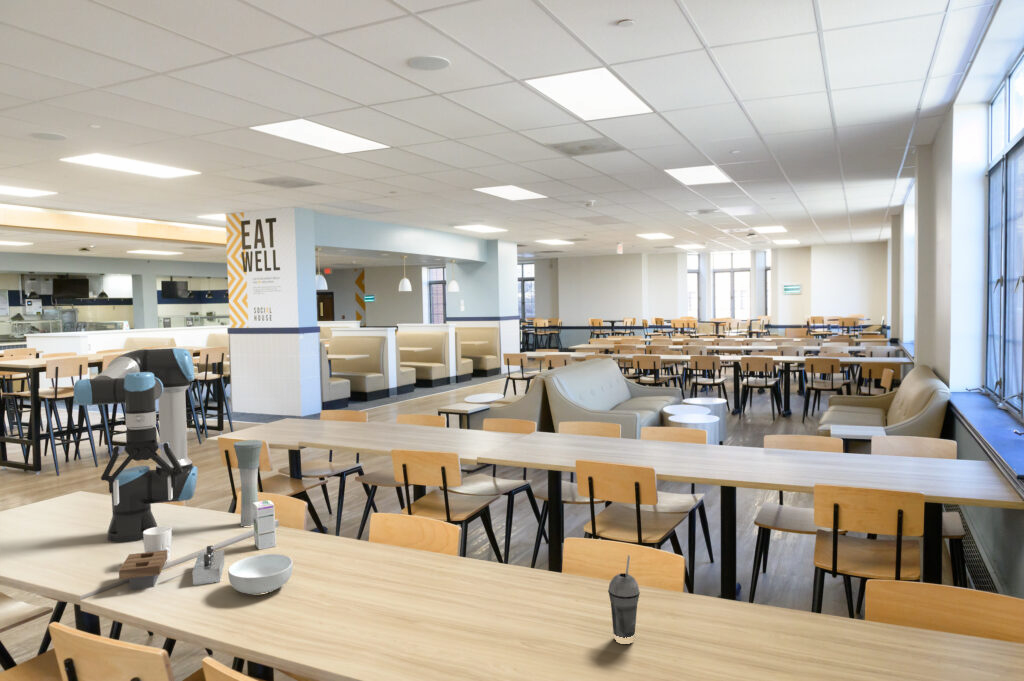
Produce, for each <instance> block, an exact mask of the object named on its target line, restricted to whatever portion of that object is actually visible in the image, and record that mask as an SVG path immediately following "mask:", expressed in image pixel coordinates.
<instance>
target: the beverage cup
mask: <svg viewBox="0 0 1024 681" xmlns="http://www.w3.org/2000/svg"><path fill="white" fill-rule="evenodd" d="M630 558H631V556H630V555H629V554H628V555H627V560H626V567H625V568H626V569H625V573H624V572H623V573H622V572H621V573H618V574H616V575H615V576H613V577H612V578H611V580H610V582H609V586H608V589H607V590H608V596H609V600H610V608H611V618H612V631H613V635H614V634H615V635H616V636H619V637H623V638H625V637H626V638H627V637H631V636H633V635H634V634H635V635H636V624H637V611H638V602H639V598H640V594H641V593H640V588H639V584H638V582H637V580H636V578H634V577H633V575H631V574H629V568H630ZM635 635H634V636H635Z"/></svg>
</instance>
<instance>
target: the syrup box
mask: <svg viewBox="0 0 1024 681" xmlns="http://www.w3.org/2000/svg"><path fill="white" fill-rule="evenodd" d="M275 516H276V515H275V504H274V503H273V502H272V501H271V500H270V499H266V500H260V501H259V500H258V502H255V503H253V517H254V527H253V532H254V533H253V534H254V535H253V538H254V546H255V547H256V548H257V550H259V551H260V550H266V549H270V548H275V547H277V537H276V536H277V535H276V534H277V532H276V519H275V518H276V517H275Z"/></svg>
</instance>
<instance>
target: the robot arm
mask: <svg viewBox="0 0 1024 681" xmlns="http://www.w3.org/2000/svg"><path fill="white" fill-rule="evenodd" d="M192 381H195V367H194V362H193V358H192V354H191V352H190V351H189V350H188V349H186V348H179V347H178V348H175V347H172V348H155V349H154V348H151V349H147V348H142V349H136V350H133V351H132V350H131V351H129V352H126V353H123V354H120V355H118V356H116V357H115V358H114V359H112V360H111V361H110V362H109V363H108V366H107V368H106V369H105V368H104V370H102V371H101V372H100V373H99V374H97V375H96V376H94V377H93V378H86V379H85V378H84V379H83V378H82V379H78V380H76V381H75V383H74V385H73V399H74V402H75V403H76V404H77V405H79V406H90V407H91V406H97V405H99V406H100V405H112V404H114V405H115V404H116V405H117V404H124V406H125V407H124V408H125V414H124V415H125V427H126V428H127V429H126V430H125V437H126V438H125V439H126V445H119V444H117V445H115V446H113V450H112V456H111V457H110V459H109V462H108V464H107V465H106V467H105V469H104V471H103V472H102V475H101V477H100V480H101V481H105V482H106V481H107V482H108V490H109V491H108V492H109V494H111V506H112V507H111V508H112V515H111V519H110V523H109V525H108V529H107V536H106V537H107V540H108V541H109V542H113V543H115V542H116V543H125V542H134V541H140V540H144V539H143V532H144V531H145V530H147V529H150V528H153V527H158V524H157V522H156V521H157V520H156V519H155V517H154V515H153V512H152V506H151V505H152V504H163V503H172V502H174V503H175V502H178V503H179V502H183V501H190V500H192V499H193V497H194V495H195V492H196V488H197V483H198V481H197V480H198V474H199V472H198V467H197V466H195V465H194V464H193V461H192V460H191V459H190V458H189V457H188V437H187V436H188V435H187V434H188V431H187V406H186V405H187V404H186V402H187V401H186V391H187V390H188V389H189V387H190V386H191V382H192ZM156 400H158V426H159V442H158V439H157V438H158V437H157V436H158V435H157V433H158V432H157V427H156V425H157V408H156ZM158 450H159V453H160V454H158V452H157V451H158ZM123 452H126V454H127V455H128V456H127V457H126V458H125V460H123V462H122V463H121V464H120V465H119V467H118V468H116V469H115V471H114V472H113V473H112V474H111V472H112V471H113V468H114V466H115V464H116V462H117V460H118V459H119V456H120V455H121V454H122V453H123ZM150 459H151V460H152V461H153V462H155V469H151V468H150V466H149V465H138V466H137V465H136V466H133V467H128V468H126V467H127V466H128V465H129V464H130V462H131V461H132V460H133V461H136V462H138V461H142V460H143V461H148V460H150ZM193 465H194V466H193ZM110 474H111V475H110Z"/></svg>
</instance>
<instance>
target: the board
mask: <svg viewBox="0 0 1024 681" xmlns="http://www.w3.org/2000/svg"><path fill="white" fill-rule="evenodd" d="M166 560H167V550H163V551H154V552H146V553H145V552H138V553H137V552H136V553H130V554H128V556H127V557H126V559H125V560H124V561H123V563H122V565H121V567H120V568H119V570H118V580H127V579H128V580H129V578H136V577H144V576H152V575H159V576H160V575H161V573H162V570H163V569H164V567H165V564H166V563H165V562H166Z"/></svg>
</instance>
